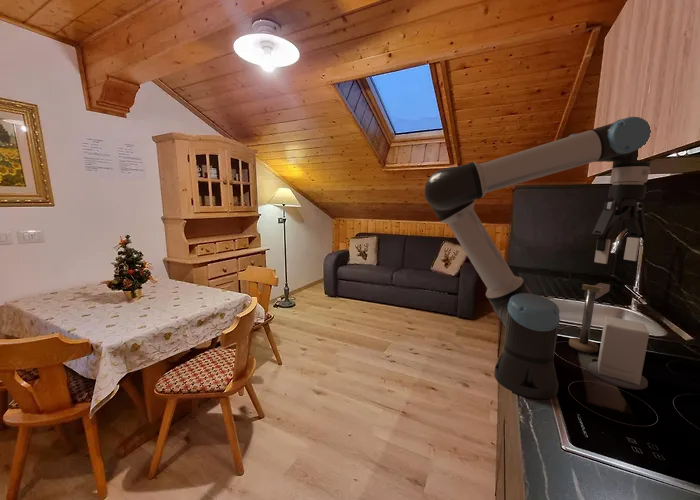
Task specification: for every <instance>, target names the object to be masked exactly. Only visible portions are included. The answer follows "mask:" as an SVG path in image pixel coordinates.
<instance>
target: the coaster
mask: <svg viewBox="0 0 700 500" xmlns="http://www.w3.org/2000/svg"><path fill="white" fill-rule="evenodd" d="M587 370H588V372H589V373H590V374H591V375H592V376H594V377H595V378H597V379H598V380H600V381H603V382H605V383H608V384H610V385H613V386H616V387H619V388H624V389H628V390H635V391H636V390H645V389H647V388H648V385H649V381H648V379H647V378H646V377H645V376H643V375H641V380H640V385H637V384H634V383H630V382H627V381H623V380H620V379H616V378H612V377H609V376H605V375H602V374H598V361H591V362H590V363H588V365H587Z"/></svg>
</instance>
